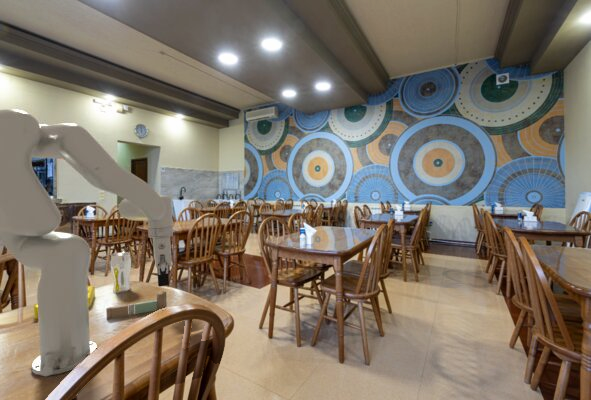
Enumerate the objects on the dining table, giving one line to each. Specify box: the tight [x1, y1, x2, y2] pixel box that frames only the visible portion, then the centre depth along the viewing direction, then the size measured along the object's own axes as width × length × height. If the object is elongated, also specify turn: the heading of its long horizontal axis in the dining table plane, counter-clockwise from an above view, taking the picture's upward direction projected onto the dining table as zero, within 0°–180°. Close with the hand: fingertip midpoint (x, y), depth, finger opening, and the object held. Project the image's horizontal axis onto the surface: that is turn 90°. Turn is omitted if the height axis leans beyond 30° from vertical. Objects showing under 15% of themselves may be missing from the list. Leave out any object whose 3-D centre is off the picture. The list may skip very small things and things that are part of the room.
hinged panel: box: [134, 290, 167, 315], centre depth 95 cm, size 10×3×6 cm, turn 117°
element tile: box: [33, 285, 96, 320], centre depth 99 cm, size 15×15×5 cm
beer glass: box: [110, 251, 132, 294], centre depth 114 cm, size 7×7×15 cm
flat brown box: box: [105, 303, 135, 320], centre depth 96 cm, size 19×19×4 cm
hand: (163, 280), depth 97 cm, fingers open, 9 cm apart
